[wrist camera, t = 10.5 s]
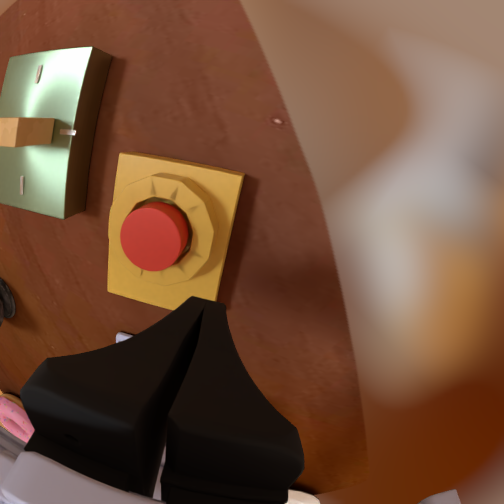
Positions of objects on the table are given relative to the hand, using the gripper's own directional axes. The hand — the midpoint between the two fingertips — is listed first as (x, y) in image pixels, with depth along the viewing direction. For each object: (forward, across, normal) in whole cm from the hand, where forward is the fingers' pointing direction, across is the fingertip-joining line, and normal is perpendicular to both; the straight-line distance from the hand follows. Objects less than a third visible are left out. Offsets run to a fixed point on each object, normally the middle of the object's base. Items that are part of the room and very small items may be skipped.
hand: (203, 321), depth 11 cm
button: (+7, +4, -1) cm, 8 cm away
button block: (+10, +4, 0) cm, 11 cm away
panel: (+10, +16, -6) cm, 20 cm away
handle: (+7, +16, -6) cm, 19 cm away
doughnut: (+10, +27, +36) cm, 46 cm away
